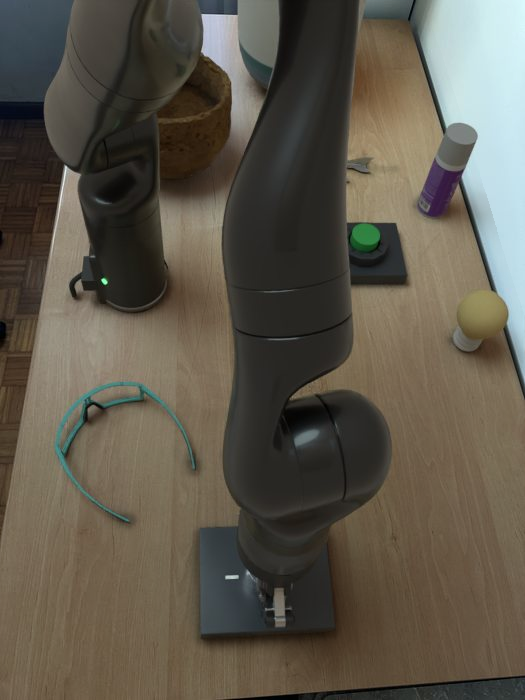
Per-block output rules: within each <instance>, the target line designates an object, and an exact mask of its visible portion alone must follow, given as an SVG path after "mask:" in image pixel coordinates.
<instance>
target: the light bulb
mask: <svg viewBox="0 0 525 700" xmlns="http://www.w3.org/2000/svg"><path fill="white" fill-rule="evenodd" d="M509 316H510V314H509V308H508V305H507V303H506V301H505V300H504V299H503V298H502V297H501V296H500V295H499V294H498V293H497V292H495V291H493V290H491V289H478V290H474V291H472V292H470V293H468V294H466V295H465V296H464V297H462V299H461V301H459V304H458V306H457V308H456V322H457V324H458V326H457V327H456V329H455V331H454V332H453V334H452V341H453V344H454V345H455V346H456V348H458V349H459V350H461V351H463V352H468V353H469V352H474V351H475V350H477V349H478V348H479V347H480V345H481V344H482V342H483V341H484V340H487V339H490V338H493V337H496V336H497V335H499V334H500V333H501V332H502V331H503V330H504V329H505V328H506V326H507V323H508V320H509Z"/></svg>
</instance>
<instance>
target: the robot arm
mask: <svg viewBox="0 0 525 700" xmlns="http://www.w3.org/2000/svg"><path fill="white" fill-rule="evenodd" d="M278 4H279V28H278V41H277V50H276V57H275V61H274V66H273V71H272V74H271V78H270V81H269V85H268V88H267V89H266V92H265V96H264V99H263V102H262V105H261V108H260V110H259V113H258V116H257V118H256V121H255V123H254V127H253V129H252V131H251V134H250V137H249V139H248V142H247V144H246V146H245V149H244V151H243V154H242V155H241V158H240V161H239V164H238V166H237V169H236V171H235V174H234V177H233V180H232V183H231V184H230V187H229V188H230V189H229V191H228V195H227V198H226V204H225V208H224V212H223V216H222V217H223V218H222V226H221V243H220V244H221V256H222V257H221V259H222V267H223V275H224V281H225V287H226V293H227V301H228V308H229V315H230V321H231V332H232V339H233V371H232V372H233V373H232V382H231V383H232V384H231V391H230V399H229V403H228V404H229V405H228V410H227V414H226V415H227V416H226V421H225V427H224V433H223V442H222V451H221V453H222V454H221V456H222V457H221V459H222V460H221V462H222V474H223V478H224V482H225V485H226V488H227V490H228V493H229V495H230V497H231V498H232V500H233V501H234V503H235V504H236V506H238V507H239V508H240V509H239V514H238V522H237V526H238V529H237V538H236V544H237V551H238V554H239V557H240V560H241V562H242V563H243V565H244V566H245V568H246V569H247V570H248V571H249V572H250V573H251V574H252V575H253V576H254V577H256V585H257V592H260V593H259V602H260V603H263V607H262V611H260V616H261V617H262V621H263V623H264V625H265V626H266V628H274V627H275V628H277V627H294V622H295V616H293V612H292V608H291V606H285V602H284V601H286V598H287V595H288V594H289V593H290V591H291V590H292V588H293V583H294V582H296V581H298V580H299V579H301V578H302V577H304V576H305V575H306V574H307V573H308V572H309V571H310V570H311V569H312V567H313V566H314V564H315V562H316V560H317V559H318V557H319V555H320V553H321V551H322V549H323V548H324V546H325V544H326V545H327V541H328V539H329V535H330V532H331V528H332V526H333V525H334V524H335V523H338V522H339V521H341V520H343V519H345V518H347V516H349V515H351V514H352V513H354V512H355V511H356V510H358V509H360V508H362V507H363V506H364V505H366V504H367V503H368V502H369V501H371V500H372V499H373V498H374V497H375V496H376V495H377V493H378V492H379V491H380V490H381V488H382V487H383V485H384V483H385V481H386V479H387V477H388V474H389V472H390V467H391V464H392V456H393V453H392V452H393V443H392V436H391V431H390V428H389V425H388V422H387V420H386V418H385V416H384V414H383V412H382V411H381V410H380V408H379V407H378V406H377V405H376V404H375V402H374V401H372V400H371V399H370V398H368V397H367V396H366V395H364V394H362V393H361V392H358V391H355V390H352V389H347V388H346V389H344V388H338V389H337V388H336V389H329V390H323V391H321V392H315V393H313V394H308V395H303V396H298V397H294V398H292V397H293V396H294V395H296V393H297V392H299V391H300V390H301V389H302V388H304V387H305V386H307V385H309V384H311V383H313V382H315V381H317V380H319V379H320V378H322V377H324V376H327V375H328V374H330V373H332V372H334V371H335V370H337V369H338V368H340V367H341V366H343V365H344V364H345V363H346V361H347V360H348V359H349V358H350V356H351V354H352V351H353V348H354V339H355V333H354V332H355V331H354V330H355V329H354V314H353V301H352V300H353V299H352V285H351V283H350V268H349V253H348V240H347V223H348V219H347V218H348V217H347V216H348V215H347V214H348V213H347V181H346V178H347V170H348V168H347V160H348V151H349V149H348V148H349V137H350V127H351V125H350V124H351V115H352V103H353V102H352V101H353V93H354V83H355V71H356V63H357V62H356V61H357V48H358V38H357V37H359V34H358V26H359V12H360V0H278ZM203 21H204V20H203V15H202V12H201V9H200V5H199V2H198V0H73V2H72V6H71V9H70V15H69V20H68V23H67V24H68V25H67V30H66V38H65V47H64V52H63V56H62V57H61V62H60V65H59V68H58V70H57V72H56V74H55V76H54V77H53V79H52V81H51V83H50V85H49V86H48V89H47V90H46V93H45V96H44V103H43V119H44V125H45V130H46V134H47V137H48V140H49V143H50V146H51V147H52V149H53V151H54V153H55V154H56V156H57V157H58V159H59V161H61V163H62V164H63V165H64V166H65V167H67V168H68V169H69V170H71V172H74V173H75V174H79V175H80V176H79V178H78V181H77V196H78V197H77V198H78V201H79V205H80V208H81V213H82V217H83V221H84V226H85V230H86V234H87V239H88V242H89V250H88V255H83V258H82V265H81V266H82V268H81V271H80V272H79V273H77V274H76V275H74V277H73V278H71V280H70V281H69V282H68V283H69V284H68V288H69V291H70V295H71V297H72V298H76V297H77V296H78V294H77V291H76V284H77V283H78V282H79V281H80V282H81V287H82V290H83V291H84V292H96V297H97V300H98V303H99V304H107V305H108V306H109V307H111V308H112V309H114V310H117V311H120V312H125V313H139V312H144V311H146V310H150V309H151V308H153V307H154V306H156V305H157V304H158V303H160V302H161V301H162V299H163V298H164V296H165V294H166V292H167V288H168V278H167V272H168V273H169V272H170V271H169V270H170V269H169V266H168V264H167V261H166V260H165V252H164V241H163V240H164V239H163V229H162V218H161V217H162V216H161V206H160V196H159V195H160V194H159V193H160V190H161V178H160V138H159V124H158V117H157V112H158V111H159V110H160V109H162V108H163V107H164V106H166V105H167V104H168V103H169V102H170V101H171V100H172V99H173V98H174V97H175V96H176V94H177V93H178V92H179V90H180V89H181V87H182V86H183V85H184V83H185V82H186V81H187V79H188V78H189V77H190V75H191V74H192V72H193V70H194V68H195V66H196V64H197V62H198V60H199V58H200V54H201V52H202V50H203V47H204V46H203V45H204V35H205V31H204V22H203ZM347 179H348V178H347ZM166 270H167V271H166Z"/></svg>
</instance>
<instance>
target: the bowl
mask: <svg viewBox="0 0 525 700" xmlns="http://www.w3.org/2000/svg"><path fill="white" fill-rule="evenodd" d="M232 91H233V89H232V81H231V79H230V77H229V74H228V73H227V71H225V70H223V68H222V67H221V66H220V65H218V64H217V63H216V62H215V61H214V60H213V59H211V57H210V56H207V55H204V52H203V51H201V54H200V58H199V60H198V62H197V64H196V66H195V68H194V70H193V72H192V74H191V75H190V77H189V78H188V79H187V81H186V82H185V83H184V85H183V86H182V87H181V89H180V90H179V92H178V93H177V94H176V96H175V97H174V98H173V99H172V100H171V101H170V102H169V103H168V104H167V105H166V106H164V107H163V108H162V109H160V110H159V111H158V112H157V117H158V124H159V138H160V179H164V178H165V179H172V180H180V179H185V178H190V177H192V176H194V175H196V174H198V173H200V172H202V171H203V170H205V169H207V168H209V167H210V166H211V165H212V164H213V163H214V161H215V159H217V157H218V156H219V154H220V153H221V152H222V151H223V149H224V148H225V147H226V144H227V143H228V141H229V138H230V136H231V131H232V130H231V129H232V113H231V112H232V105H233V92H232Z"/></svg>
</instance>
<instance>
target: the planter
mask: <svg viewBox="0 0 525 700" xmlns="http://www.w3.org/2000/svg"><path fill="white" fill-rule="evenodd" d="M366 4H367V0H360V12H359V26H358V35H359V34H360V30H361V25H362V22H363V18H364V14H365V13H364V12H365V9H366ZM278 28H279V4H278V0H237V39H238V47H239V52H240V56H241V59H242V62H243V64H244V67H245V69H246V71H247V72H248V73H249V75H250V77H252V79H253V80H254V81H255V82H256V83H257V84H259V85H260V86H261V87H262V88H263V89H265V90H267V88H268V85H269V81H270V78H271V74H272V71H273V66H274V61H275V57H276V50H277V41H278ZM358 37H359V36H358ZM358 37H357V39H358Z"/></svg>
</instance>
